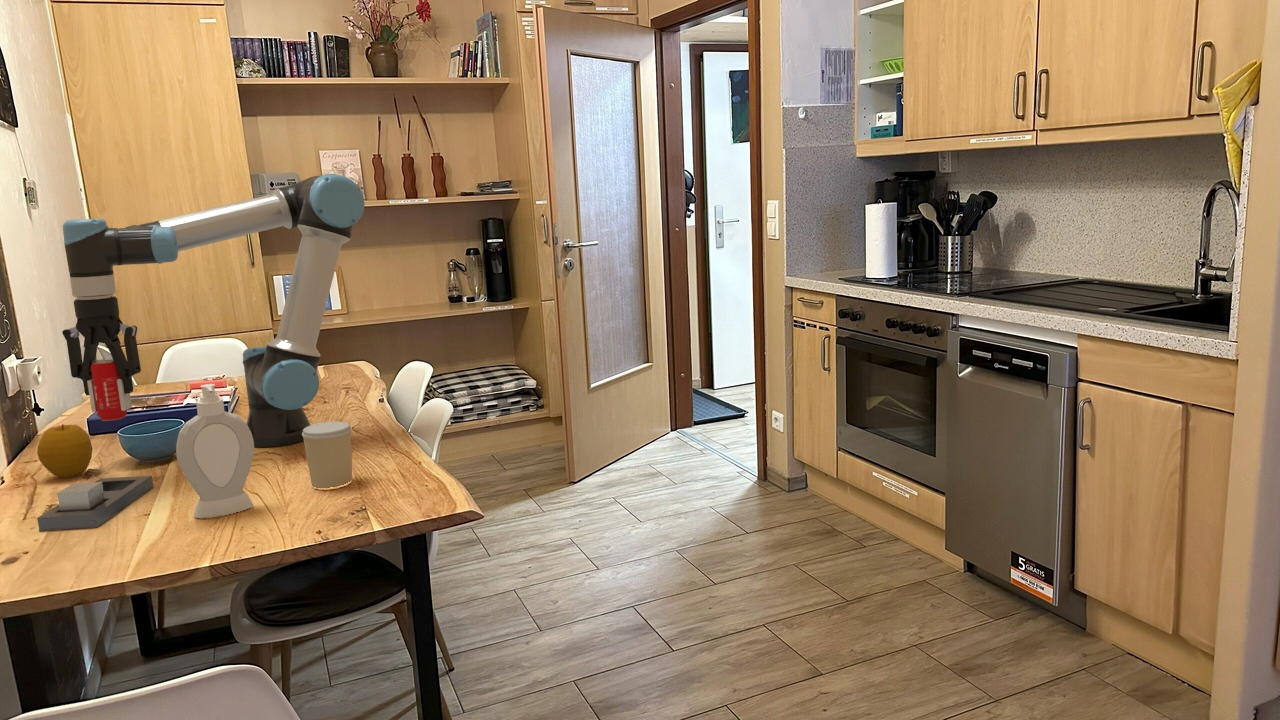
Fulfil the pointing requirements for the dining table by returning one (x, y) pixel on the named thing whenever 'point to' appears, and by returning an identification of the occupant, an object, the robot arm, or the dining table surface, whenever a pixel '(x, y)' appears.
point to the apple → (65, 450)
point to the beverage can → (107, 390)
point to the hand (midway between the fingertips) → (112, 409)
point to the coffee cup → (328, 453)
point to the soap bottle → (216, 457)
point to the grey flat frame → (93, 502)
